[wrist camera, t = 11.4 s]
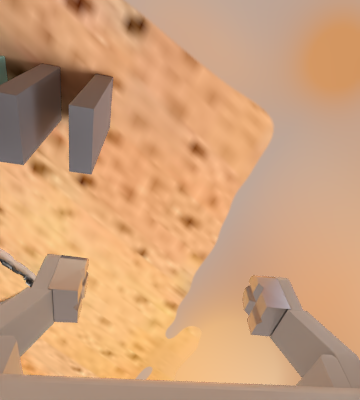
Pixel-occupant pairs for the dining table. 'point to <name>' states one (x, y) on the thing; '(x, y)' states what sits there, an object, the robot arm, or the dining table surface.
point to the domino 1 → (28, 112)
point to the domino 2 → (89, 123)
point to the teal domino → (3, 70)
